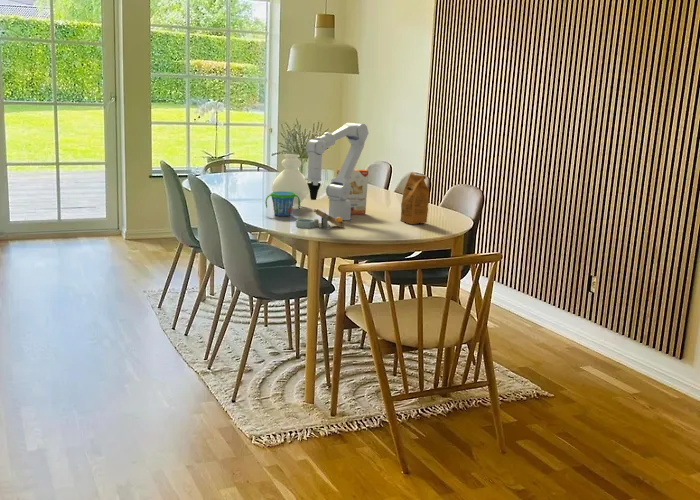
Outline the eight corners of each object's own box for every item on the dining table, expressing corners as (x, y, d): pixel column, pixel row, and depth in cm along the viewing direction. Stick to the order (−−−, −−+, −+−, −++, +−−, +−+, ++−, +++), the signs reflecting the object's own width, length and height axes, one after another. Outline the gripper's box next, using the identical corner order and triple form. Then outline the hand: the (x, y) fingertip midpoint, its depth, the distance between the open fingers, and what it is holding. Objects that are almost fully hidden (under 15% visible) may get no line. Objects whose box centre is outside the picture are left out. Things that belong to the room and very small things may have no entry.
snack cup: (265, 216, 332) (265, 194, 330) (265, 212, 343) (265, 190, 340) (300, 217, 334) (301, 195, 332) (299, 213, 344) (300, 191, 342)
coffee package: (416, 219, 344) (419, 171, 340) (429, 224, 333) (433, 175, 328) (397, 220, 340) (400, 172, 336) (409, 225, 329) (413, 175, 324)
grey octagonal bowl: (312, 224, 320) (312, 219, 320) (314, 228, 313) (314, 222, 312) (295, 224, 319) (295, 218, 318) (296, 227, 312) (297, 222, 311)
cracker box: (337, 214, 346) (339, 169, 342) (334, 212, 352) (336, 168, 347) (366, 214, 350) (368, 170, 345) (362, 212, 356) (364, 168, 351)
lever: (337, 223, 327) (340, 218, 327) (341, 228, 316) (344, 223, 315) (312, 209, 324) (315, 204, 324) (315, 214, 313) (318, 208, 312)
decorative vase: (303, 211, 351) (304, 157, 346) (266, 208, 355) (268, 155, 349) (312, 205, 368) (314, 154, 363) (277, 202, 372) (279, 152, 366)
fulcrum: (328, 224, 322) (329, 212, 321) (331, 228, 313) (331, 216, 312) (313, 224, 321) (313, 212, 320) (315, 228, 312) (316, 216, 311)
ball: (340, 223, 320) (340, 216, 319) (342, 224, 317) (343, 217, 317) (333, 222, 319) (334, 216, 318) (336, 224, 316) (337, 217, 315)
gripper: (304, 165, 326) (302, 196, 329) (306, 169, 312) (305, 202, 315) (320, 166, 327) (318, 197, 330) (323, 170, 313) (321, 202, 316)
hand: (313, 199), depth 323 cm, fingers closed
